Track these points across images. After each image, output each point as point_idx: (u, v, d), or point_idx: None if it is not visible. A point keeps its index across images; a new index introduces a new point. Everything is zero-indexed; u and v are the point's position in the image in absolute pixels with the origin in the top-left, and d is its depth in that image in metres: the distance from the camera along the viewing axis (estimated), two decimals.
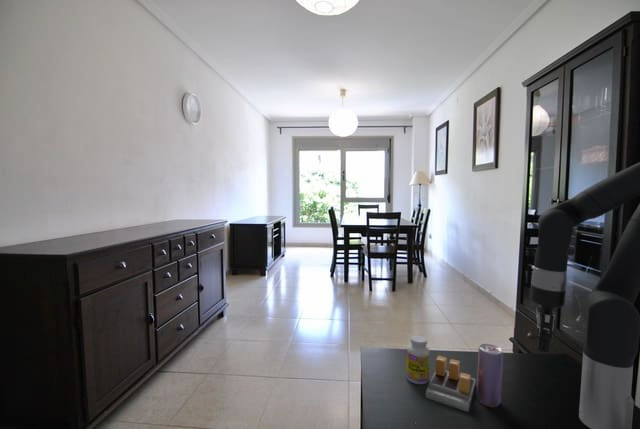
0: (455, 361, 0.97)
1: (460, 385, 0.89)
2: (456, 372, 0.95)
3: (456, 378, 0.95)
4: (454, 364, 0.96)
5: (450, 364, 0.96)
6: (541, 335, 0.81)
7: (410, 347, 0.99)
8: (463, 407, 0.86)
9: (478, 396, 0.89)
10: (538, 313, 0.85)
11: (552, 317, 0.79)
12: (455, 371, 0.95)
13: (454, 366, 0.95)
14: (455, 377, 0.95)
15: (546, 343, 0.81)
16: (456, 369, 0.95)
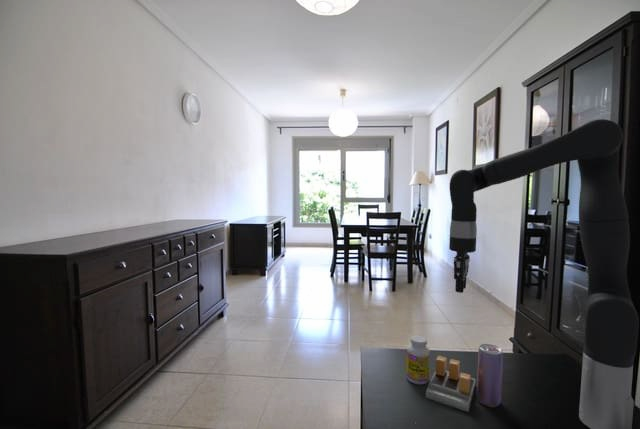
0: (455, 361, 0.97)
1: (460, 385, 0.89)
2: (456, 372, 0.95)
3: (456, 378, 0.95)
4: (454, 364, 0.96)
5: (450, 364, 0.96)
6: (455, 277, 0.97)
7: (410, 347, 0.99)
8: (463, 407, 0.86)
9: (478, 396, 0.89)
10: (455, 260, 0.99)
11: (461, 263, 0.94)
12: (455, 371, 0.95)
13: (454, 366, 0.95)
14: (455, 377, 0.95)
15: (460, 284, 0.97)
16: (456, 369, 0.95)
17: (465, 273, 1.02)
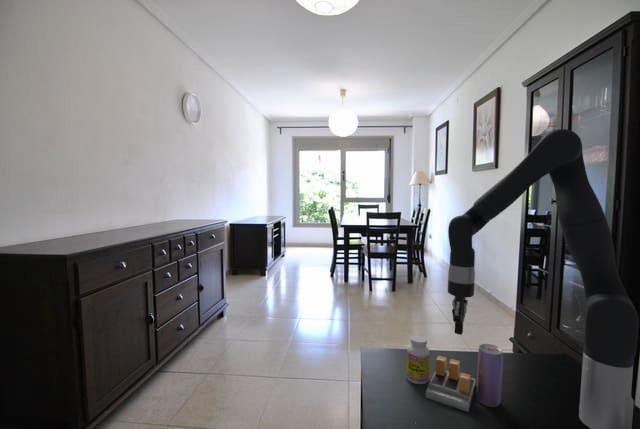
0: (455, 361, 0.97)
1: (460, 385, 0.89)
2: (456, 372, 0.95)
3: (456, 378, 0.95)
4: (454, 364, 0.96)
5: (450, 364, 0.96)
6: (455, 321, 0.99)
7: (410, 347, 0.99)
8: (463, 407, 0.86)
9: (478, 396, 0.89)
10: (453, 304, 1.00)
11: (460, 313, 0.96)
12: (455, 371, 0.95)
13: (454, 366, 0.95)
14: (455, 377, 0.95)
15: (459, 327, 1.00)
16: (456, 369, 0.95)
17: None
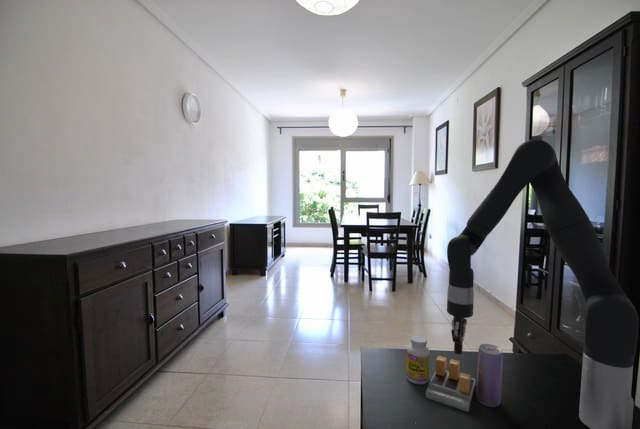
0: (455, 361, 0.97)
1: (460, 385, 0.89)
2: (456, 372, 0.95)
3: (456, 378, 0.95)
4: (454, 364, 0.96)
5: (450, 364, 0.96)
6: (454, 341, 1.00)
7: (410, 347, 0.99)
8: (463, 407, 0.86)
9: (478, 396, 0.89)
10: (452, 324, 1.01)
11: (459, 334, 0.96)
12: (455, 371, 0.95)
13: (454, 366, 0.95)
14: (455, 377, 0.95)
15: (459, 347, 1.01)
16: (456, 369, 0.95)
17: (462, 337, 1.02)
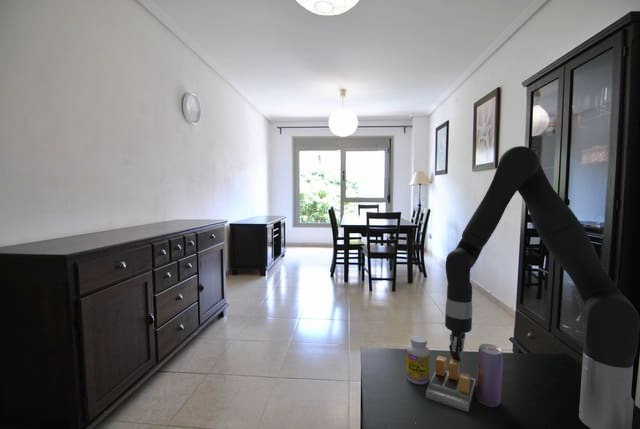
0: (455, 361, 0.97)
1: (460, 385, 0.89)
2: (456, 372, 0.95)
3: (456, 378, 0.95)
4: (454, 364, 0.96)
5: (450, 364, 0.96)
6: (452, 356, 0.98)
7: (410, 347, 0.99)
8: (463, 407, 0.86)
9: (478, 396, 0.89)
10: (450, 339, 0.99)
11: (457, 349, 0.94)
12: (455, 372, 0.95)
13: (454, 367, 0.95)
14: (455, 377, 0.95)
15: None
16: (456, 369, 0.95)
17: (460, 352, 1.00)
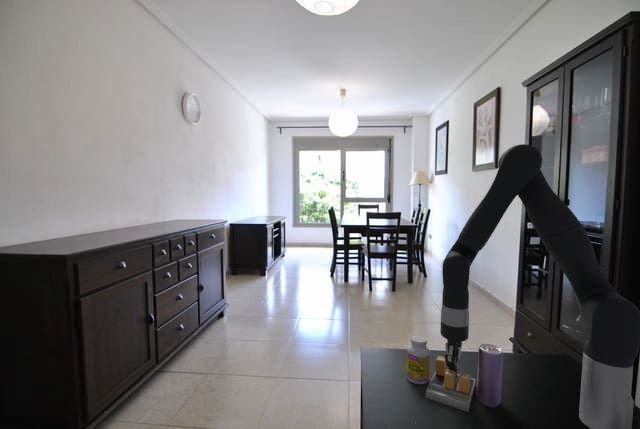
0: (451, 371, 0.92)
1: (460, 385, 0.89)
2: (452, 383, 0.90)
3: None
4: (450, 375, 0.90)
5: (446, 375, 0.90)
6: (448, 366, 0.93)
7: (410, 347, 0.99)
8: (463, 407, 0.86)
9: (478, 396, 0.89)
10: (446, 347, 0.94)
11: (453, 360, 0.89)
12: (451, 383, 0.90)
13: (450, 377, 0.90)
14: None
15: None
16: (452, 380, 0.90)
17: (456, 361, 0.94)
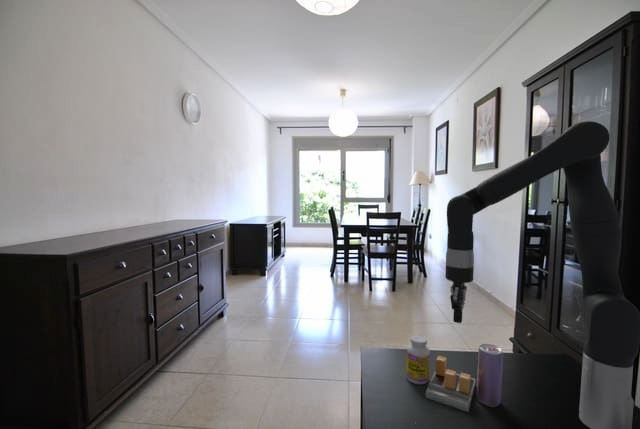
0: (451, 371, 0.92)
1: (460, 385, 0.89)
2: (452, 383, 0.90)
3: None
4: (450, 375, 0.90)
5: (446, 375, 0.91)
6: (453, 308, 0.93)
7: (410, 347, 0.99)
8: (463, 407, 0.86)
9: (478, 396, 0.89)
10: (451, 291, 0.94)
11: (458, 299, 0.89)
12: (451, 383, 0.90)
13: (450, 377, 0.90)
14: (451, 388, 0.90)
15: (458, 315, 0.94)
16: (452, 380, 0.90)
17: None
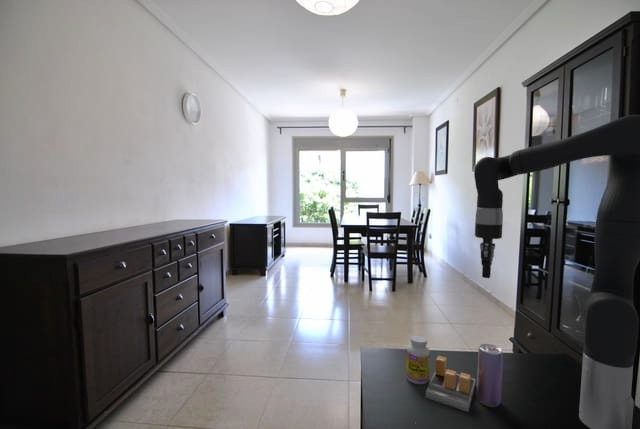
0: (451, 371, 0.92)
1: (460, 385, 0.89)
2: (452, 383, 0.90)
3: None
4: (450, 375, 0.90)
5: (446, 375, 0.91)
6: (483, 263, 0.99)
7: (410, 347, 0.99)
8: (463, 407, 0.86)
9: (478, 396, 0.89)
10: (481, 247, 1.00)
11: (489, 253, 0.96)
12: (451, 383, 0.90)
13: (450, 377, 0.90)
14: (451, 388, 0.90)
15: (487, 270, 1.00)
16: (452, 380, 0.90)
17: None
